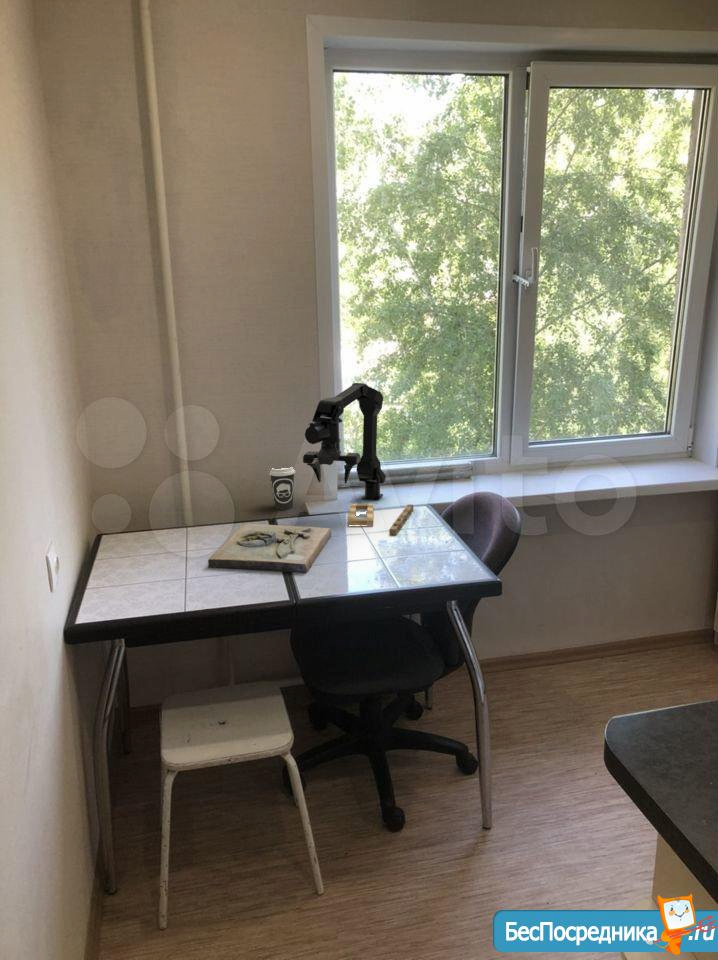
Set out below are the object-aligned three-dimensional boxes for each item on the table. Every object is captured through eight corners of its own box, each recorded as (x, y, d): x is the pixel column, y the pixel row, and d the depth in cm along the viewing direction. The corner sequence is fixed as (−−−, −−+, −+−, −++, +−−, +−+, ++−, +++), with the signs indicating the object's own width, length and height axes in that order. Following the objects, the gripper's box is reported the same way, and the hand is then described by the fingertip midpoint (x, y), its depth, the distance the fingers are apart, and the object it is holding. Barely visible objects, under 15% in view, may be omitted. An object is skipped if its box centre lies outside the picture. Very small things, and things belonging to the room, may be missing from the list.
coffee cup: (302, 505, 264) (300, 465, 260) (286, 513, 256) (283, 471, 252) (281, 501, 269) (279, 462, 265) (264, 509, 261) (262, 468, 257)
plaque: (241, 513, 236) (331, 516, 230) (243, 533, 238) (332, 537, 232) (203, 548, 208) (305, 553, 202) (206, 571, 210) (306, 577, 204)
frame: (350, 509, 258) (350, 504, 257) (373, 509, 258) (373, 503, 257) (348, 526, 241) (348, 520, 240) (373, 526, 240) (372, 520, 240)
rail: (407, 509, 256) (407, 502, 255) (413, 510, 255) (413, 502, 255) (389, 535, 232) (389, 526, 231) (395, 535, 232) (395, 527, 231)
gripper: (296, 442, 239) (298, 488, 243) (351, 444, 234) (352, 490, 238) (307, 434, 249) (309, 478, 253) (360, 436, 244) (361, 481, 249)
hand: (332, 482), depth 248 cm, fingers open, 9 cm apart
